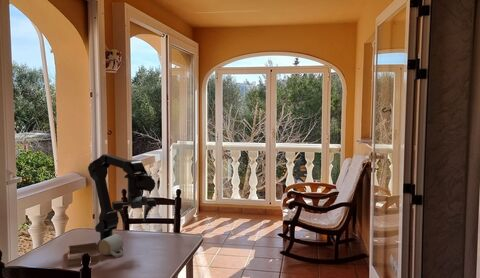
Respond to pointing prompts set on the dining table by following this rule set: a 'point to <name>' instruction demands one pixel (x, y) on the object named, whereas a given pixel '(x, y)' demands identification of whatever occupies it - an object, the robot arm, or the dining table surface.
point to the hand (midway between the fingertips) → (134, 222)
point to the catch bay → (81, 248)
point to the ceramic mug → (111, 245)
